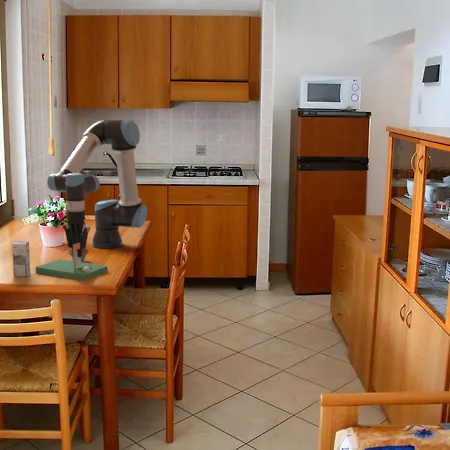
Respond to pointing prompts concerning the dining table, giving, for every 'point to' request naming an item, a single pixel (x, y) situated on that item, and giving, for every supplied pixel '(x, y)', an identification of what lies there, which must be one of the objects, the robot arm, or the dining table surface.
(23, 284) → the dining table surface
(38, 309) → the dining table surface
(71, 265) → the putting mat
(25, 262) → the syrup box
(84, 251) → the cupcake
